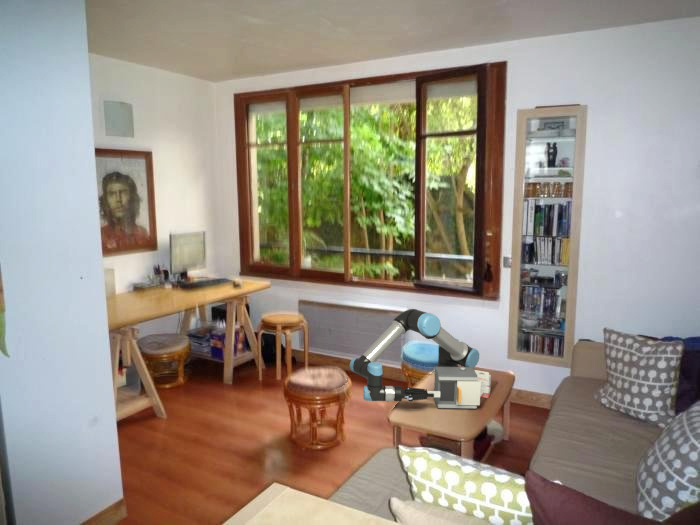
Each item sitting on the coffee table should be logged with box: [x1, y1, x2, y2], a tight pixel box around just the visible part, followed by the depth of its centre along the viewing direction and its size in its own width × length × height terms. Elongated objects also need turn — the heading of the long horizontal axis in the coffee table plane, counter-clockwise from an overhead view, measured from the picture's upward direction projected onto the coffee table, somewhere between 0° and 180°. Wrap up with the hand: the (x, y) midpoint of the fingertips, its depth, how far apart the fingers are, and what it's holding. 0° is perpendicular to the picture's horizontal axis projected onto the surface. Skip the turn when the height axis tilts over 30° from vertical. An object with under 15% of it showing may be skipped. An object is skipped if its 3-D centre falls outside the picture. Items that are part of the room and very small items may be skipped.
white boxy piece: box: [456, 380, 481, 406], centre depth 258 cm, size 6×12×13 cm, turn 89°
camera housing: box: [433, 366, 478, 410], centre depth 266 cm, size 14×20×19 cm
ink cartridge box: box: [474, 369, 492, 399], centre depth 278 cm, size 9×5×15 cm, turn 62°
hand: (440, 394), depth 257 cm, fingers closed
